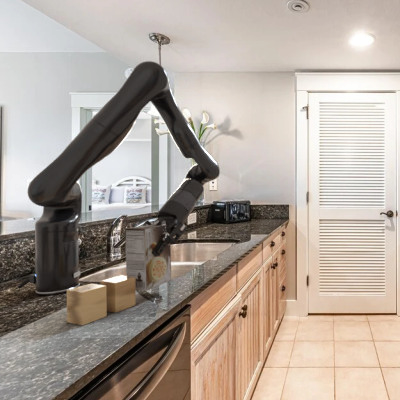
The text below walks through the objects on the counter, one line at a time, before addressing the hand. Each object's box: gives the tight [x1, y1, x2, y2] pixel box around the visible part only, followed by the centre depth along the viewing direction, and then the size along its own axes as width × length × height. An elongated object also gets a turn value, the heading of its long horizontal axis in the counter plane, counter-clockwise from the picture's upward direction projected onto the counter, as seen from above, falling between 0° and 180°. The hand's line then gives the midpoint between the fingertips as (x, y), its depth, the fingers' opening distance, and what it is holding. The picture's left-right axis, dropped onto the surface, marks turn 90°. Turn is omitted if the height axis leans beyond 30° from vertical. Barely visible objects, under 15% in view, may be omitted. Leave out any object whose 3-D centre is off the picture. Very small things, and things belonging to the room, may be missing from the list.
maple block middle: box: [99, 275, 136, 314], centre depth 70 cm, size 5×5×7 cm
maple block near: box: [66, 283, 108, 326], centre depth 64 cm, size 5×5×7 cm
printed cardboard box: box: [124, 225, 172, 292], centre depth 78 cm, size 9×6×16 cm
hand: (144, 253), depth 77 cm, fingers closed on printed cardboard box, 7 cm apart
